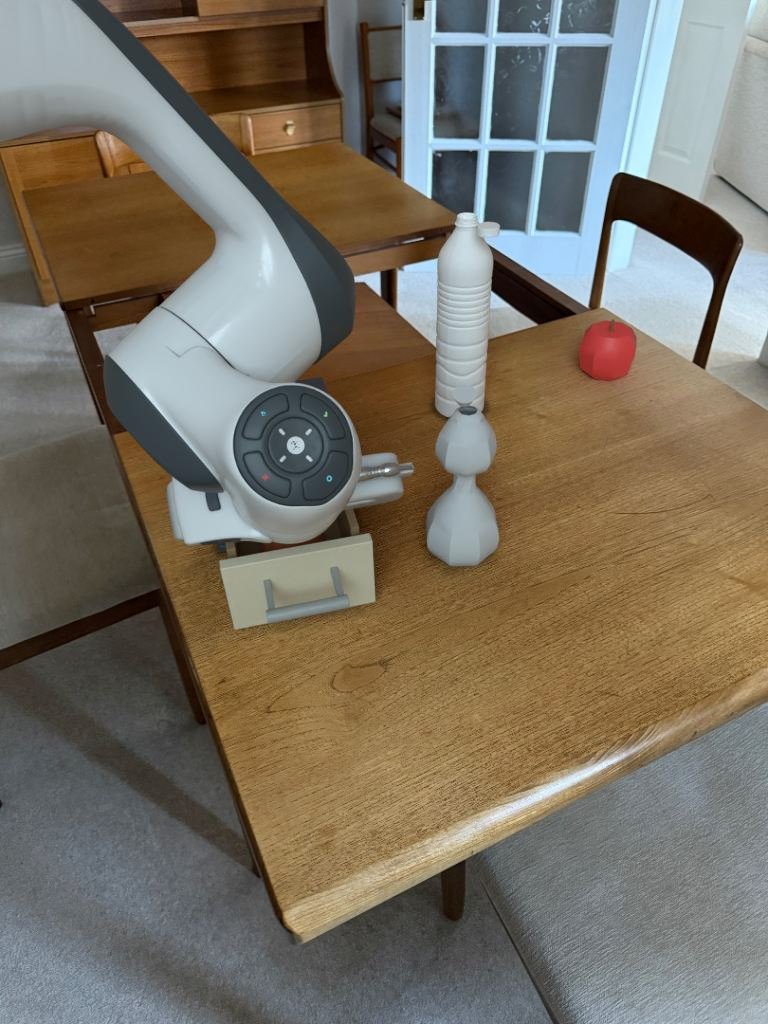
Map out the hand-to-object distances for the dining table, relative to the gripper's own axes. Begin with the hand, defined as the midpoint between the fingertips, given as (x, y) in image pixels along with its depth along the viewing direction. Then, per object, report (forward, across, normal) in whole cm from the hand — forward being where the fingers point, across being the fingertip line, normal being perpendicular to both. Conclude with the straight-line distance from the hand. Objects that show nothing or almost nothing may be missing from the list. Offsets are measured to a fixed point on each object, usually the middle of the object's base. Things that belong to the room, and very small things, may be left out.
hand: (286, 506), depth 71 cm
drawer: (+3, 0, +7) cm, 7 cm away
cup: (+3, 0, +4) cm, 5 cm away
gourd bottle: (+4, -17, +8) cm, 19 cm away
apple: (+25, -48, -14) cm, 56 cm away
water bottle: (+22, -26, -11) cm, 36 cm away
